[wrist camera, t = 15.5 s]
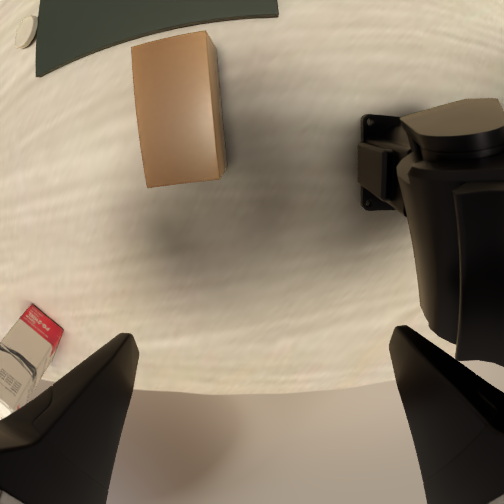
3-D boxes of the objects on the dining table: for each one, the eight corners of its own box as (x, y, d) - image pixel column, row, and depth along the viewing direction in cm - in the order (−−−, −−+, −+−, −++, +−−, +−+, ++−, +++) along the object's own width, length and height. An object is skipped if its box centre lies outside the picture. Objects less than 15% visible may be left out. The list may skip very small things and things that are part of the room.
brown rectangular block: (216, 47, 14) (205, 30, 11) (227, 166, 18) (220, 179, 14) (155, 59, 14) (130, 46, 11) (167, 173, 18) (146, 188, 14)
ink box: (31, 301, 23) (-29, 376, 13) (65, 329, 25) (13, 413, 14) (23, 338, 26) (-21, 403, 16) (52, 362, 28) (13, 431, 17)
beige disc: (39, 9, 11) (34, 9, 10) (36, 38, 12) (31, 38, 11) (20, 25, 11) (15, 25, 11) (18, 53, 13) (13, 53, 12)
